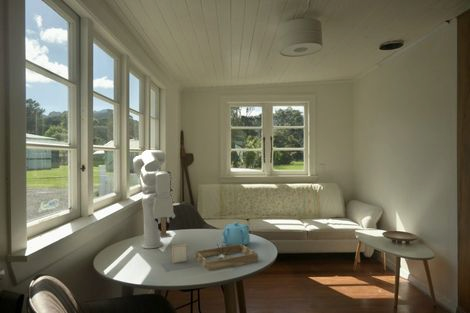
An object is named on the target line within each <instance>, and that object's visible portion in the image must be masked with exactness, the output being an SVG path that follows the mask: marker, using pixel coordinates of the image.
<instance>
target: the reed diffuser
mask: <svg viewBox="0 0 470 313" xmlns="http://www.w3.org/2000/svg"><path fill="white" fill-rule="evenodd" d="M216 245H217V248H219V247H220V246H219V245H218V243H216ZM221 247H222V254H221V253H220V254H221V255H219V256H217V257H216V260H221V259H227V256H226V255H228V254H227V253H228V252H227V253H226V254H225V255H224V254H223V247H224V245H222V244H221ZM219 251H220V250H219Z"/></svg>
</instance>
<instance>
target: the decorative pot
mask: <svg viewBox="0 0 470 313" xmlns="http://www.w3.org/2000/svg"><path fill="white" fill-rule="evenodd" d="M249 231H250V226H249V225H247V224H241V223H239V222H238V221H234V222H233V223H231V224H230V223H229V224H226V227H224V228H223V230H222V240H221V241H222V242H221V243H223V244H225V245H226V246H231V245H237V244H242V245H244V246H245V245H246V246H247V245H249V243H250V240H251V235H250V233H249Z"/></svg>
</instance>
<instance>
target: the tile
mask: <svg viewBox="0 0 470 313" xmlns="http://www.w3.org/2000/svg"><path fill="white" fill-rule="evenodd" d="M187 251H188V250H187V244H179V245H173V246H171V257H172V259H171V262H172V263H178V262H184V261H187V259H188V252H187Z"/></svg>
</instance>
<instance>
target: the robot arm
mask: <svg viewBox="0 0 470 313" xmlns="http://www.w3.org/2000/svg"><path fill="white" fill-rule="evenodd" d="M166 157H167V156H166V153H165V152H164V150H161V149H153V150H152V149H147V150H144V151H142V153H141V155H136V156H135V157H134V158H133V160H132V161H133V162H132V163H133V164H132V166H133V170H134V172H135V174H136V175H137V177H138V180H139V184H140V189H141V192H142V194H143V196H142V197H141V205H142V213H143V238H144V239H143V243H142V244H141V248H142V249H148V250H149V249H150V250H151V249H158V248H160V247H163V245H164V242H163V241H161V237H160V236H159V234H160V231H161V222H160V219H161V218H166V231H168V230H169V229H170V222H171V221H172V219H175V217H176V214H175V212H174V204H173V198H172V196H171V174H170V173H169V172H167V171H165V170H161V171H160V170H159V169H160V168H161V167H162V165H164V163H165V162H166V160H167V159H166Z"/></svg>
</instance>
